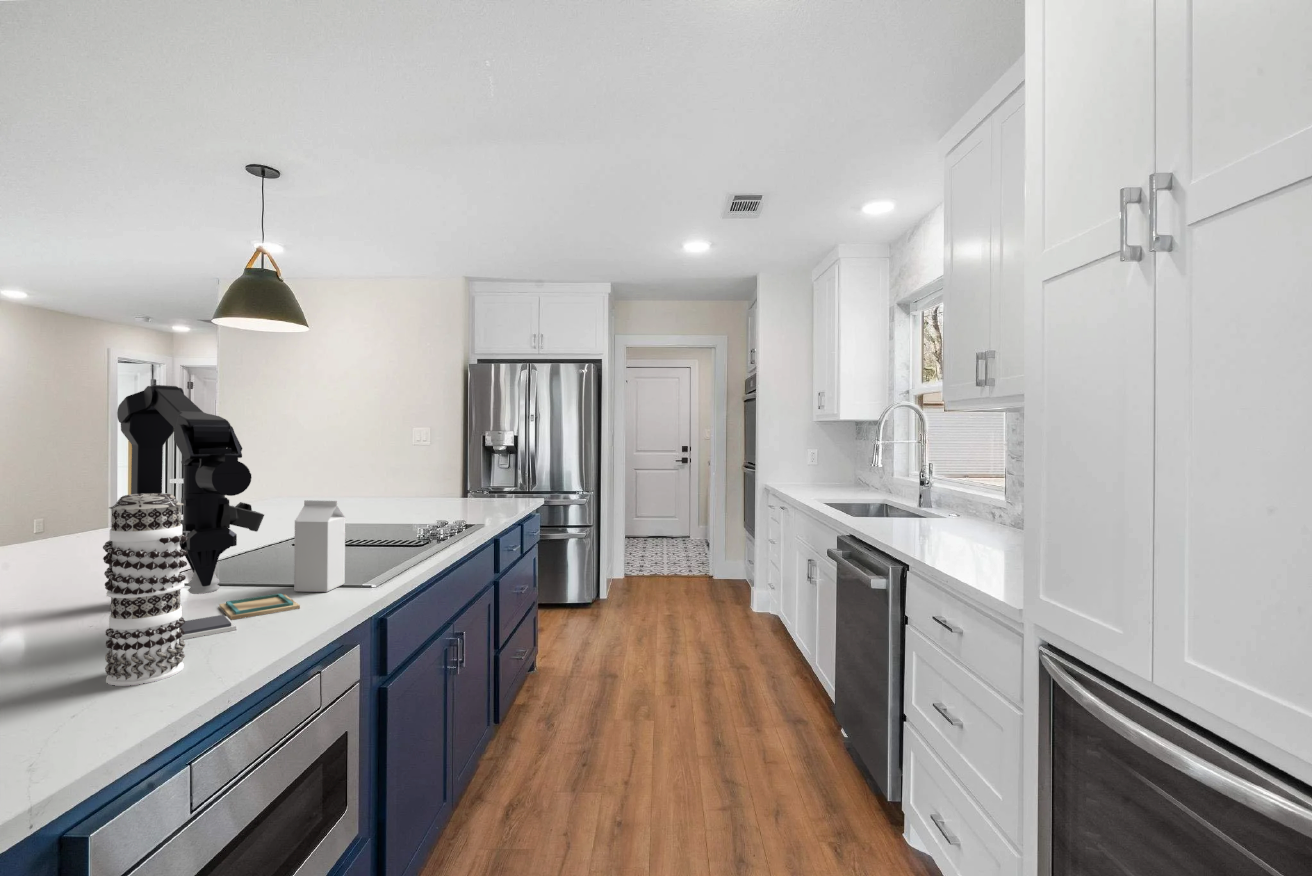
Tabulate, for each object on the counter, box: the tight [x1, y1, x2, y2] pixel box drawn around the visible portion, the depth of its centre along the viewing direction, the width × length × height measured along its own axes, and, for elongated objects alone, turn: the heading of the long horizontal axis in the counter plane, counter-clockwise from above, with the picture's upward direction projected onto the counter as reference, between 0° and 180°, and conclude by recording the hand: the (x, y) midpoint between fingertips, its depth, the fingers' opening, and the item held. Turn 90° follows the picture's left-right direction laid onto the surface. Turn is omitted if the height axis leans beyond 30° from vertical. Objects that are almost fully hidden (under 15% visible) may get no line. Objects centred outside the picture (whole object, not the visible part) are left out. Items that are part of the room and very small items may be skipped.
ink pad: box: [180, 614, 237, 641], centre depth 105 cm, size 8×8×1 cm
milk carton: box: [293, 500, 346, 593], centre depth 133 cm, size 7×7×19 cm
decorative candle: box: [102, 492, 189, 687], centre depth 86 cm, size 9×9×25 cm
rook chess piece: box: [187, 570, 221, 595], centre depth 105 cm, size 4×4×8 cm
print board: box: [218, 592, 301, 621], centre depth 118 cm, size 11×11×1 cm
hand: (203, 583), depth 105 cm, fingers closed on rook chess piece, 4 cm apart
